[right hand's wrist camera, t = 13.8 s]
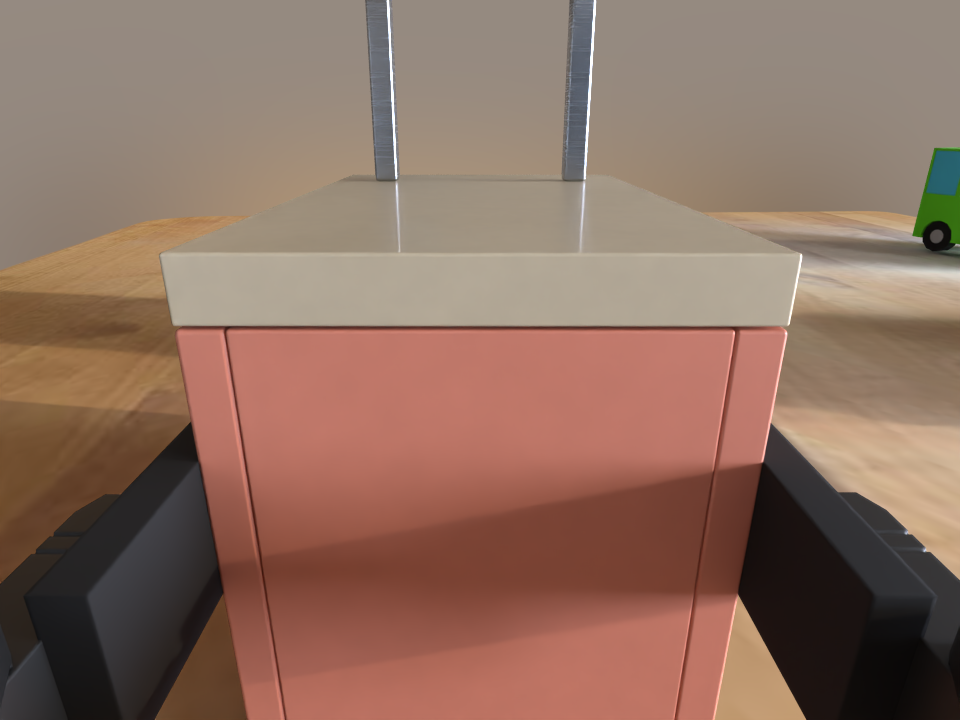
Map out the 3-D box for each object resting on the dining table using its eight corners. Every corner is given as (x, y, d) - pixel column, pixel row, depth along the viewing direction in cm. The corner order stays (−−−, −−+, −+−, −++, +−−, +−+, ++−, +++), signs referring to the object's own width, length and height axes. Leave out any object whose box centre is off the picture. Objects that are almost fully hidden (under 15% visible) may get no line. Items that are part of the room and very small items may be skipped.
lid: (354, 206, 23) (333, -86, 19) (606, 206, 23) (628, -86, 19) (170, 327, 9) (3, -554, 6) (789, 327, 9) (959, -554, 6)
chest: (368, 446, 26) (351, 209, 22) (591, 446, 26) (609, 209, 22) (254, 776, 13) (170, 331, 9) (705, 776, 13) (790, 331, 9)
